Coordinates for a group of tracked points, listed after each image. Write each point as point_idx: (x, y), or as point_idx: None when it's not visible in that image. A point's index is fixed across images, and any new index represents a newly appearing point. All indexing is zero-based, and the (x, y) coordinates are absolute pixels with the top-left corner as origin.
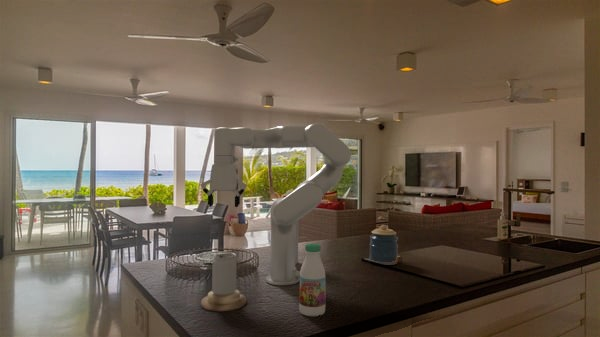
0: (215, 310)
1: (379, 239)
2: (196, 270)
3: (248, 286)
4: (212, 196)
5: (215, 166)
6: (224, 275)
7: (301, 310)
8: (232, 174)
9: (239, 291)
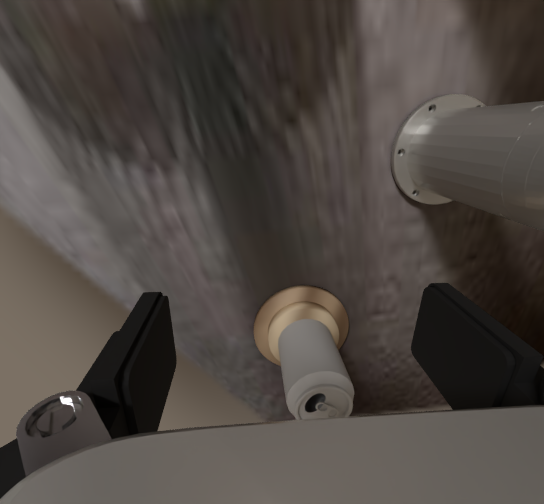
0: None
1: None
2: (109, 31)
3: (341, 214)
4: (137, 406)
5: None
6: (319, 394)
7: None
8: None
9: (336, 324)
